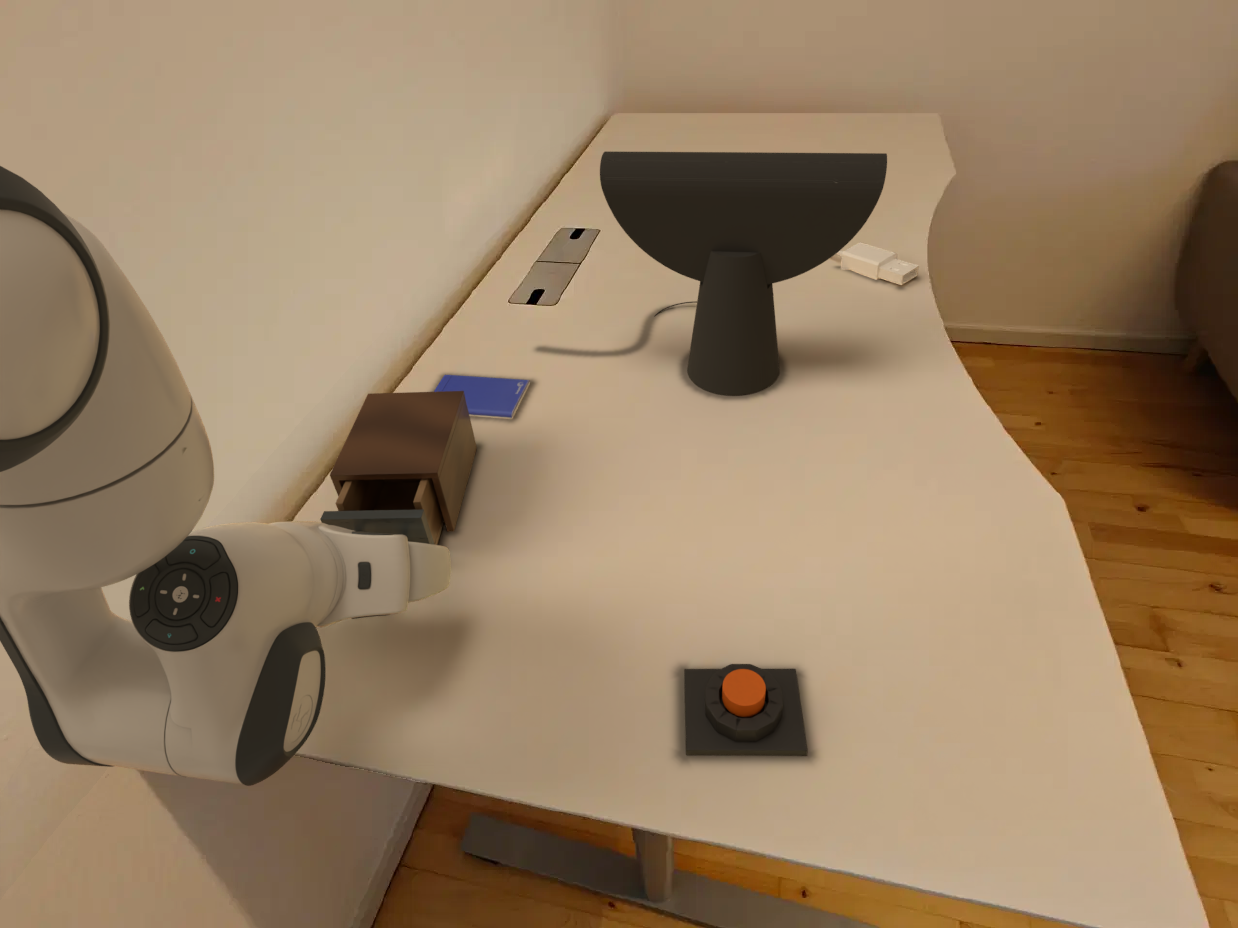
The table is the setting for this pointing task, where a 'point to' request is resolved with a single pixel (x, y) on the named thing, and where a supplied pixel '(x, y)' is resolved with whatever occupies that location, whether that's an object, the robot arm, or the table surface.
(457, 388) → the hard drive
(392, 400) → the cabinet
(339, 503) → the drawer
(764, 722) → the block
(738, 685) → the button
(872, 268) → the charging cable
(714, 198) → the table lamp
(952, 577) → the table surface
